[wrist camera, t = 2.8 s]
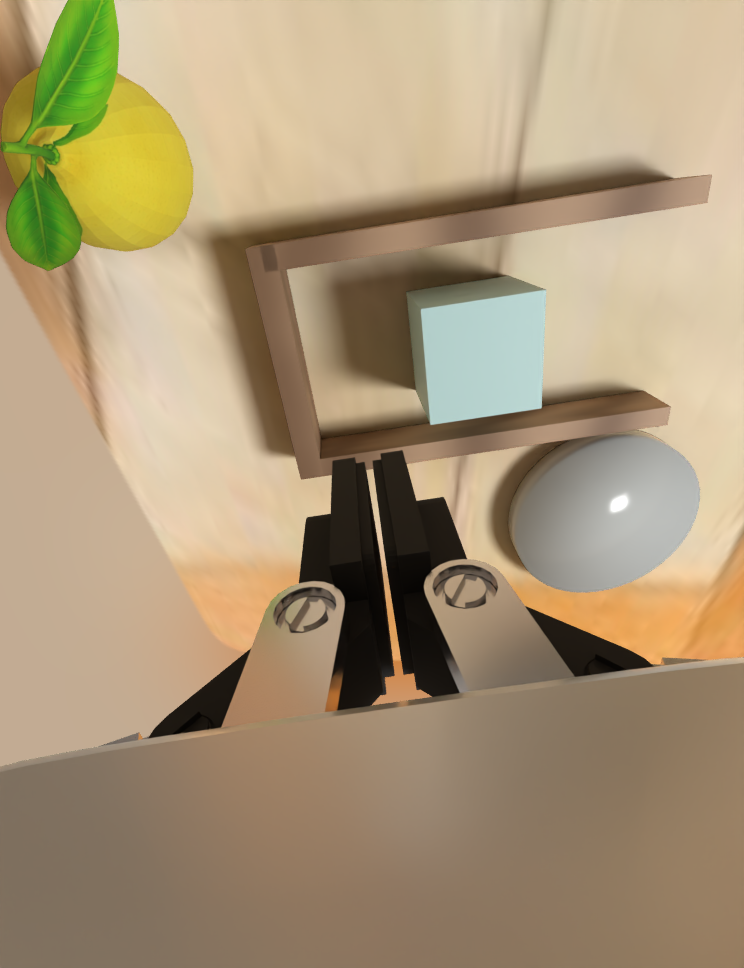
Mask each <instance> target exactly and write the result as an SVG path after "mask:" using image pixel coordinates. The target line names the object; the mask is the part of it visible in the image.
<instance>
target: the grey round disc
mask: <svg viewBox="0 0 744 968" xmlns="http://www.w3.org/2000/svg"><path fill="white" fill-rule="evenodd" d="M699 501H700V488H699V483H698V479H697V476H696V473H695V471H694V469H693V468H692V466H691V464H690V463H689V462H688V461H687V460H686V459H685V457H684V456H683V455H681V454H680V453H679V452H677V451H676V450H675V449H673V448H672V447H670V446H669V445H667V444H666V443H665V442H663V441H662V440H660V439H659V438H657V437H655V436H653V435H651V434H649V433H645V432H642V431H639V430H629V431H623V432H616V433H609V434H603V435H596V436H589V437H582V438H576V439H571V440H569V441H567V442H565V443H563V444H562V445H560V446H558V447H556V448H555V449H553V450H552V451H551V452H549V453H548V454H547V455H545V456H544V457H543V458H542V459H541V460H540V461H538V462H537V463H536V464H535V465H534V466H533V468H532V469H531V470H530V471H529V472H528V473H527V474H526V476H525V477H524V479H523V480H522V482H521V483H520V485H519V487H518V489H517V490H516V492H515V495H514V497H513V500H512V502H511V506H510V511H509V519H508V525H509V533H510V537H511V541H512V543H513V545H514V548H515V549H516V551H517V553H518V555H519V557H520V559H521V561H522V563H523V564H524V566H525V567H526V569H527V570H528V571H529V572H530V573H531V574H532V575H533V576H534V577H535V578H537V579H538V580H539V581H541V582H543V583H544V584H546V585H548V586H551V587H553V588H556V589H560V590H564V591H570V592H596V591H603V590H608V589H612V588H615V587H619V586H622V585H624V584H627V583H629V582H632V581H634V580H636V579H638V578H640V577H642V576H644V575H645V574H647V573H649V572H650V571H652V570H653V569H655V568H656V567H657V566H659V565H660V564H661V563H663V562H664V561H665V560H666V559H667V558H668V557H669V556H670V555H671V554H672V553H673V552H674V551H675V550H676V549H677V548H678V547H679V546H680V544H681V543H682V542H683V540H684V539H685V538H686V536H687V534H688V533H689V531H690V529H691V527H692V525H693V523H694V521H695V518H696V515H697V512H698V508H699Z"/></svg>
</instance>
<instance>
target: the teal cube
mask: <svg viewBox="0 0 744 968" xmlns="http://www.w3.org/2000/svg"><path fill="white" fill-rule="evenodd" d="M406 295H407V305H408V315H409V326H410V336H411V346H412V357H413V367H414V377H415V388H416V392H417V394H418V397H419V399H420V401H421V404H422V406H423V409H424V411H425V413H426V416H427V418H428V420H429V423H430V425H434V424H441V423H447V422H454V421H461V420H467V419H474V418H481V417H487V416H494V415H501V414H507V413H514V412H521V411H527V410H534V409H541V408H542V384H543V358H544V332H545V306H546V290H545V289H543V288H540V287H537V286H535V285H532V284H529V283H527V282H524V281H521V280H519V279H516V278H513V277H511V276H504V277H497V278H491V279H484V280H478V281H472V282H465V283H459V284H452V285H446V286H440V287H433V288H427V289H420V290H414V291H407V292H406Z"/></svg>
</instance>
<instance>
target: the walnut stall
mask: <svg viewBox="0 0 744 968" xmlns="http://www.w3.org/2000/svg"><path fill="white" fill-rule="evenodd" d="M711 178H712V175H703V176H693V177H683V178H674V179H668V180H662V181H655V182H649V183H643V184H636V185H630V186H624V187H618V188H611V189H605V190H599V191H592V192H586V193H580V194H574V195H567V196H561V197H555V198H548V199H542V200H536V201H530V202H523V203H517V204H511V205H504V206H498V207H492V208H486V209H479V210H473V211H467V212H460V213H454V214H448V215H441V216H435V217H429V218H423V219H416V220H410V221H404V222H397V223H391V224H385V225H379V226H372V227H366V228H360V229H353V230H347V231H341V232H335V233H328V234H322V235H316V236H309V237H303V238H297V239H291V240H284V241H278V242H272V243H265V244H259V245H254V246H251V247H248V248H246V249H245V251H246V255H247V259H248V263H249V267H250V271H251V276H252V280H253V284H254V288H255V292H256V296H257V300H258V304H259V309H260V313H261V317H262V321H263V325H264V329H265V333H266V337H267V342H268V346H269V350H270V354H271V358H272V362H273V366H274V370H275V374H276V379H277V383H278V387H279V391H280V395H281V399H282V403H283V407H284V412H285V416H286V420H287V424H288V428H289V432H290V436H291V440H292V445H293V449H294V453H295V457H296V461H297V465H298V469H299V473H300V477H301V479H308V478H314V477H321V476H328V475H332V461H333V460H340V459H347V458H353V457H355V459H356V463H360V462H365V466H366V470H368V469H373V462H372V461H373V460H380V459H381V456H380V453H386V452H393V451H400V450H403V453H404V457H405V461H406V464H408V463H415V462H422V461H428V460H435V459H442V458H448V457H455V456H462V455H469V454H475V453H482V452H489V451H495V450H502V449H509V448H515V447H522V446H529V445H536V444H542V443H549V442H556V441H562V440H569V439H576V438H582V437H589V436H596V435H603V434H609V433H616V432H623V431H629V430H636V429H643V428H649V427H656V426H663V425H668V419H669V413H670V408H671V407H670V406H669V405H667V404H665V403H664V402H662V401H660V400H659V399H657V398H655V397H653V396H652V395H650V394H648V393H647V392H645V391H639V392H632V393H626V394H619V395H613V396H606V397H599V398H593V399H586V400H579V401H573V402H566V403H560V404H553V405H546V406H542V408H541V409H534V410H527V411H521V412H514V413H507V414H501V415H494V416H487V417H481V418H474V419H467V420H461V421H454V422H447V423H441V424H434V425H430V423H427V424H420V425H414V426H407V427H400V428H394V429H387V430H380V431H374V432H367V433H361V434H354V435H347V436H341V437H334V438H327V439H321V434H320V429H319V424H318V419H317V415H316V410H315V405H314V400H313V395H312V391H311V386H310V381H309V376H308V371H307V367H306V362H305V357H304V352H303V347H302V343H301V338H300V333H299V328H298V323H297V319H296V314H295V309H294V304H293V299H292V295H291V290H290V285H289V280H288V276H287V271H286V269H291V268H298V267H304V266H310V265H317V264H323V263H329V262H336V261H342V260H348V259H355V258H361V257H367V256H374V255H380V254H386V253H393V252H399V251H405V250H412V249H418V248H424V247H431V246H437V245H443V244H450V243H456V242H462V241H469V240H475V239H481V238H488V237H494V236H500V235H507V234H513V233H519V232H526V231H532V230H538V229H545V228H551V227H557V226H564V225H570V224H576V223H583V222H589V221H595V220H602V219H608V218H614V217H621V216H627V215H633V214H640V213H646V212H652V211H659V210H665V209H671V208H678V207H684V206H690V205H697V204H703V203H707V201H708V195H709V189H710V184H711Z"/></svg>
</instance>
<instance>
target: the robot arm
mask: <svg viewBox="0 0 744 968" xmlns="http://www.w3.org/2000/svg"><path fill="white" fill-rule="evenodd" d="M380 456H381V459H380V460H373V461H372V462H373V470H374V477H375V485H376V492H377V500H378V507H379V515H380V522H381V530H382V537H383V545H384V552H385V559H386V566H387V572H388V579H389V585H390V591H391V598H392V604H393V610H394V617H395V623H396V629H397V636H398V642H399V648H400V655H401V661H402V667H403V674H404V675H405V674H412V673H414V676H415V682H416V688H417V690H420V689H421V690H422V691H424V692H426V693H427V694H429V695H430V696H432V697H429V698H422V699H415V700H408V701H400V702H394V703H386V704H379V705H373V706H371V705H372V704H373V703H374V702H375V700H376V699H377V698H378V697H379V696H380V695H385V694H386V686H385V677H391V676H394V666H393V658H392V649H391V641H390V633H389V624H388V616H387V608H386V599H385V591H384V582H383V574H382V566H381V558H380V552H379V546H378V540H377V533H376V527H375V521H374V515H373V509H372V503H371V497H370V491H369V485H368V479H367V472H366V466H365V462H360V463H356V459H355V457H353V458H347V459H340V460H333V461H332V492H331V514H327V515H320V516H313V517H308V518H306V524H305V533H304V542H303V551H302V560H301V569H300V578H299V584H297V585H294V586H291V587H289V588H287V589H286V590H284V591H282V592H281V593H279V594H278V595H277V596H276V597H275V598H274V599H273V600H272V601H271V602H270V604H269V606H268V608H267V609H266V611H265V614H264V617H263V619H262V622H261V624H260V627H259V630H258V632H257V635H256V638H255V640H254V643H253V645H252V648H251V649H250V650H248V651H247V652H246V653H245V654H244V655H242V656H241V657H240V658H238V659H237V660H236V661H235V662H233V663H232V664H231V665H230V666H229V667H227V668H226V669H225V670H224V671H222V672H221V673H220V674H219V675H217V676H216V677H215V678H214V679H213V680H211V681H210V682H209V683H208V684H206V685H205V686H204V687H203V688H202V689H200V690H199V691H198V692H196V693H195V694H194V695H193V696H191V697H190V698H189V699H188V700H187V701H185V702H184V703H183V704H182V705H180V706H179V707H178V708H177V709H175V710H174V711H173V712H172V713H170V714H169V715H168V716H167V717H166V718H165V719H164V720H163V721H162V722H161V723H160V724H159V725H158V726H157V727H156V728H155V729H154V730H153V732H152V733H151V735H150V736H149V737H147V738H142V736H141V735H140V733H136V734H133V735H130V736H128V737H124V738H122V739H119V740H116V741H113V742H110V743H107V744H104V745H102V746H99V747H94V748H88V749H82V750H77V751H71V752H66V753H61V754H56V755H50V756H45V757H40V758H35V759H30V760H24V761H20V762H16V763H12V764H9V765H5V766H2V767H0V968H744V657H738V658H725V659H715V660H698V659H678V658H662V660H661V665H655V664H650V663H649V662H648V661H647V660H646V659H645V658H643V657H641V656H639V655H637V654H636V653H634V652H632V651H630V650H628V649H626V648H623V647H621V646H618V645H616V644H614V643H611V642H609V641H607V640H604V639H602V638H600V637H597V636H595V635H592V634H590V633H588V632H585V631H583V630H581V629H578V628H576V627H574V626H571V625H569V624H566V623H564V622H562V621H559V620H557V619H555V618H552V617H550V616H548V615H545V614H543V613H540V612H538V611H536V610H533V609H531V608H529V607H526V606H524V604H523V603H522V601H521V600H520V599H519V597H518V596H517V594H516V593H515V591H514V590H513V589H512V587H511V586H510V584H509V583H508V582H507V580H506V579H505V577H504V576H503V575H502V574H501V573H500V572H499V571H498V570H497V569H496V568H495V567H493V566H491V565H489V564H487V563H484V562H481V561H477V560H468V559H467V558H466V555H465V552H464V549H463V547H462V544H461V541H460V539H459V536H458V533H457V531H456V528H455V525H454V522H453V520H452V517H451V514H450V512H449V509H448V506H447V504H446V501H445V499H444V498H443V497H440V498H434V499H427V500H420V501H416V498H415V494H414V491H413V487H412V483H411V479H410V476H409V472H408V468H407V464H406V461H405V457H404V453H403V450H400V451H393V452H386V453H380Z"/></svg>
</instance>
